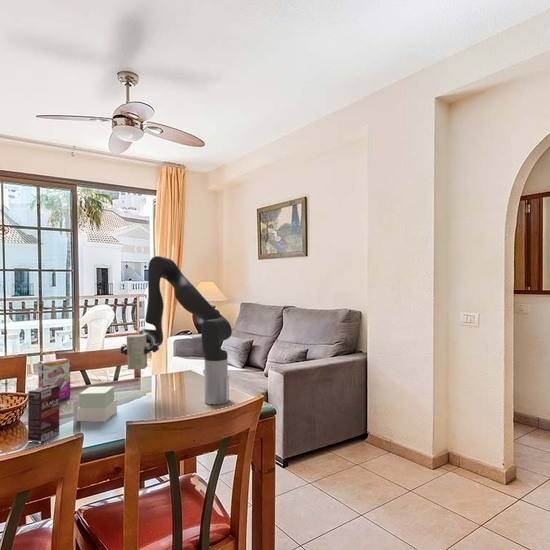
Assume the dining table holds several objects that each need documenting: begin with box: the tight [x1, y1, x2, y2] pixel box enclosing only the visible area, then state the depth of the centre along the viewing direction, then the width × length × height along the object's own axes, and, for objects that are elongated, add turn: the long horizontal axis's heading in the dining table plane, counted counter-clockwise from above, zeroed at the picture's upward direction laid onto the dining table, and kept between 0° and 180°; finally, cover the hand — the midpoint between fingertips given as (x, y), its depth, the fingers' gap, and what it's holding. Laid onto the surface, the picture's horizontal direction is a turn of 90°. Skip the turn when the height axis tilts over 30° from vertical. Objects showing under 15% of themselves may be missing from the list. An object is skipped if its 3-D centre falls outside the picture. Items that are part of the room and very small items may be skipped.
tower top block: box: [78, 385, 115, 408], centre depth 153 cm, size 9×9×5 cm
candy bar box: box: [37, 358, 71, 401], centre depth 174 cm, size 11×5×16 cm, turn 137°
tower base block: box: [76, 399, 118, 422], centre depth 153 cm, size 10×10×5 cm
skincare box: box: [126, 334, 148, 371], centre depth 154 cm, size 6×4×12 cm
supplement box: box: [27, 385, 60, 443], centre depth 133 cm, size 9×5×16 cm, turn 168°
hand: (135, 351), depth 152 cm, fingers closed on skincare box, 6 cm apart
